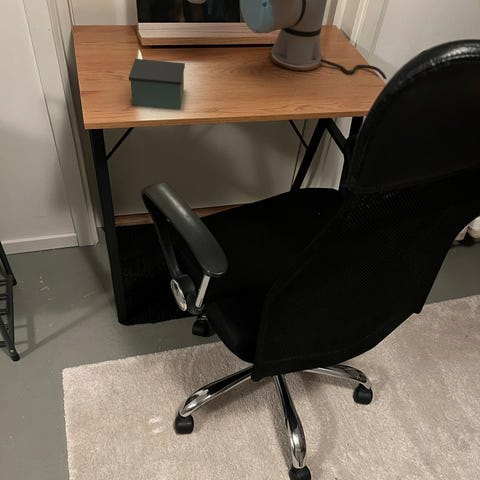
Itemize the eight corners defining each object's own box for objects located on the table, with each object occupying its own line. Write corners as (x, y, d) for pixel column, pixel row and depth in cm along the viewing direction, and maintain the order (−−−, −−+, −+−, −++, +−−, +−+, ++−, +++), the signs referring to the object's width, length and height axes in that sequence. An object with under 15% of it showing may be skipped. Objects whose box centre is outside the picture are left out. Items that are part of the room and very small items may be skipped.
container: (185, 90, 124) (184, 63, 118) (181, 110, 117) (181, 82, 112) (137, 86, 123) (135, 58, 117) (131, 105, 116) (128, 77, 111)
